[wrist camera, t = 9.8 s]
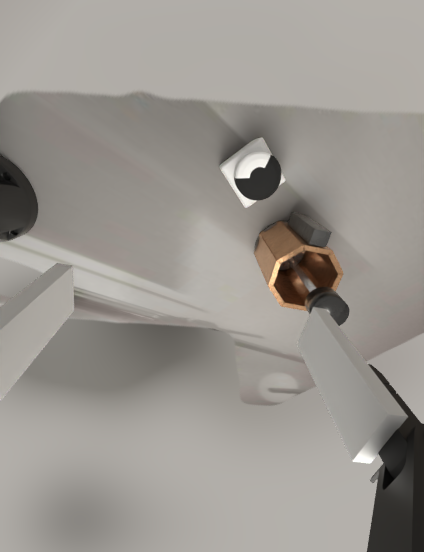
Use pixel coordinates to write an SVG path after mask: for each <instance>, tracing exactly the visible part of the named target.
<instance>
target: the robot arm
mask: <svg viewBox="0 0 424 552" xmlns="http://www.w3.org/2000/svg"><path fill="white" fill-rule="evenodd" d="M37 210H38V208H37V200H36V196H35V193H34V191H33V189H32V187H31V185H30V183H29V181H28V180H27V178H26V177H25V176H24V175H23V173H22V172H21V171H20V170H19V169H18V168H17V167H16V166H15V165H13V164H12V163H11V162H10V161H8V160H7V159H5V158H3V157H1V156H0V242H4V241H9V240H13V239H15V238H17V237H20V236H22V235H24V234H25V233H27V232H28V231H29V230H30V229H31V228H32V227H33V225H34V223H35V221H36V218H37ZM73 311H74V288H73V266H71V265H65V264H59V263H57V264H55V265H54V266H53V267H52V268H50V269H49V270H48V271H46V272H45V273H44V274H42V275H41V276H40V277H39V278H37V279H36V280H35V281H33V282H32V283H31V284H30V285H28V286H27V287H26V288H24V289H23V290H22V291H20V292H19V293H18V294H16V295H15V296H14V297H13V298H11V299H10V300H9V301H7V302H6V303H5V304H4V305H2V306H1V307H0V401H1V400H2V399H3V397H4V396H5V395H6V394H7V392H8V391H9V390H10V389H11V388H12V386H13V385H14V384H15V382H16V381H17V380H18V379H19V378H20V377H21V375H22V374H23V373H24V372H25V370H26V369H27V368H28V367H29V365H30V364H31V363H32V362H33V360H34V359H35V358H36V357H37V356H38V354H39V353H40V352H41V351H42V349H43V348H44V347H45V346H46V344H47V343H48V342H49V341H50V339H51V338H52V337H53V336H54V335H55V333H56V332H57V331H58V330H59V328H60V327H61V326H62V325H63V323H64V322H65V321H66V320H67V319H68V317H69V316H70V315H71V314H72V312H73ZM297 346H298V348H299V350H300V353H301V355H302V357H303V359H304V361H305V363H306V365H307V367H308V369H309V371H310V374H311V376H312V378H313V380H314V382H315V384H316V386H317V388H318V390H319V393H320V395H321V397H322V399H323V401H324V403H325V405H326V407H327V409H328V411H329V413H330V416H331V418H332V420H333V422H334V424H335V426H336V428H337V430H338V432H339V434H340V437H341V438H342V441H343V443H344V445H345V447H346V449H347V451H348V454H349V456H350V457H351V460H352V461H353V462H363V463H371V462H372V461H373V460H374V458H375V457H376V456H377V455H378V454H379V455H380V457H381V459H382V461H383V462H384V463H383V465H382V466H381V467H380V468H379V469H378V471H377V472H376V473H375V474H374V475H373V476H372V478H371V480H370V481H371V482H372V483H374V482H375V480H376V479H378V483H377V490H376V496H375V503H374V510H373V516H372V523H371V529H370V535H369V542H368V548H367V552H424V424H422V423H421V422H420V421H419V420H418V419H417V418H416V416H415V415H414V414H413V413H412V411H411V410H410V409H409V407H408V406H407V405H406V404H405V402H404V401H403V400H402V399H401V397H400V396H399V395H398V394H396V391H395V390H394V388H393V387H392V386H391V385H389V382H388V381H387V380H386V378H385V377H384V376H383V375H382V373H380V372H379V371H378V370H377V369H376V368H374V367H373V366H372V365H370V364H367V362H366V361H365V360H364V358H363V357H362V356H361V354H360V353H359V352H358V350H357V349H356V348H355V347H354V345H353V344H352V343H351V341H350V340H349V339H348V337H347V336H346V335H345V333H344V332H343V331H342V330H341V328H340V327H339V326H338V324H337V323H336V322H335V320H334V319H333V318H332V316H331V315H330V314H329V313H328V311H327V310H326V309H322V308H317V307H313V309H312V311H311V313H310V315H309V318H308V320H307V322H306V324H305V327H304V329H303V331H302V333H301V336H300V338H299V340H298V342H297Z"/></svg>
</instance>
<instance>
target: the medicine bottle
mask: <svg viewBox="0 0 424 552" xmlns="http://www.w3.org/2000/svg"><path fill="white" fill-rule="evenodd" d="M219 167H220V169H221V171H222V172H223V174H224V176H225V177H226V179H227V180H228V182H229V183H230V185H231V187H232V188H233V190H234V191H235V193H236V194H237V196H238V198H239V199H240V201H241V202H242V204H243V205H244V207H245V208H247V207H249V206H250V205H252V204H253V203H255V202H256V201H258V200H263V199H266V198H268V197H270V196H271V195H272V194H273V193H274V192H275V191H276V190H277V188H278V186H279V185H281V184H282V183H284V182H285V177H284V175H283V174H282V172H281V167H280V165H279V163H278V161H277V160H276V158H275V157H274V156H273V155H272V153H271V152H270V150H269V148H268V146H267V144H266V142H265V141H264V139H263V138H262V137H261V138H257V139H254V140H252V141H251V142H250V143H248V144H247V145H246V146H244V147H243V148H242V149H240V150H239V151H238V152H236V153H235V154H234V155H232V156H231V157H230V158H228V159H227V160H226V161H225V162H223V163H222V164H221V165H220V166H219Z"/></svg>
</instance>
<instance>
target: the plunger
mask: <svg viewBox="0 0 424 552" xmlns="http://www.w3.org/2000/svg"><path fill="white" fill-rule="evenodd" d="M303 255H304V250H303V251H302V252H300V253H298V254H296V255H295V256H293V257H291V258H289V259H288V260H286V261H284V262H282V263H281V265H280V267H279V270H285V269H289V268H293V269H294V271H295V272H296V273H297V275H298V276H299V278H300V279H301V280H302V282H303V283H304V285H305V286H306V287H307V289H308V290H309V292H310V293H309V294H308V295H307V297H306V299H305V307H306V309H307V310H308V312H309V314H310V313H311V311H312V309H313V307H317V308H322V309H326V310H327V311H328V313H329V314H330V315H331V316H332V318H333V319H334V320H335V322H336V323H337V324H338V326H340V325H341V324H343V323H344V322H345V321H346V319H347V318H348V316H349V307H348V305H347V304H346V303H345V302H344V301H343V299H342V298H341V297H340V296H339V295H338V294H337V293H336V292H335V291H334V290H333V289H332V288H329V287H319V288H316V287H315V286H314V284H313V283H312V282H311V280H310V279H309V278H308V277H307V275H306V274H305V273H304V272H303V270H302V269H301V268H300V266H299V265H298V263H299V261H300V260H301V259H302V257H303Z"/></svg>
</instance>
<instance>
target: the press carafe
mask: <svg viewBox="0 0 424 552" xmlns="http://www.w3.org/2000/svg"><path fill="white" fill-rule="evenodd" d="M331 233H332V232H330V231H329V230H327V229H326V228H324V227H323V226H321V225H320V224H318V223H317V222H315V221H314V220H312V219H311V218H309V217H308V216H306V215H304V214H299V213H294V212H292V213H291V216H290V219H289V221H278V222H276V223H274V224H271V225H270V226H268V227H267V228H265V229H264V230H263V231H262V232H260V233H259V236H258V238H257V241H256V244H255V251H254V254H255V257H256V259H257V261H258V264H259V266H260V268H261V271H262V273H263V275H264V278H265V280H266V282H267V285H268V287H269V288H270V290H271V291H272V293H273V295H274V296H275V298H276V299H277V301H278V302H279V304H280V305H281V306H282V307H287V308H293V309H299V310H305V311H308V310H307V309H306V307H305V299H306V297H307V295H308V294H309V293H310V292H309V290H308V289H307V287H306V286H305V285H304V283H303V282H302V280H301V279H300V278H299V276H298V275H297V273H296V272H295V271H294V269H293V268H289V269H285V270H279V267H280V265H281V263H282V262H284V261H286V260H288V259H289V258H291V257H293V256H295V255H296V254H298V253H300V252H302V251H303V250H304V255H303V257H302V259H301V260H300V261H299V263H298V265H299V266H300V268H301V269H302V270H303V272H304V273H305V274H306V275H307V277H308V278H309V279H310V280H311V282H312V283H313V284H314V286H315V287H316V288H319V287H329V288H332V289H333V290H334V291H336V289H337V287H338V285H339V282H340V280H341V278H342V276H343V271H342V269H341V267H340V265H339V263H338V261H337V259H336V257H335V255H334V253H333V251H332V250H331V249H330V248H328V247H327V246H326V245H327V242H328V240H329V237H330V235H331Z"/></svg>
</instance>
